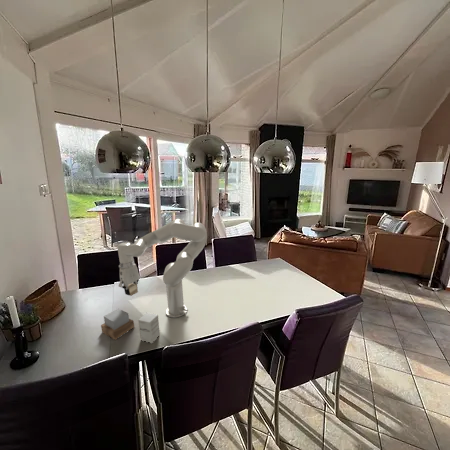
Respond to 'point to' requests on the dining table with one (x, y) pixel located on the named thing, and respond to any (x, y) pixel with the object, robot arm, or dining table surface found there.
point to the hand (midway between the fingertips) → (131, 292)
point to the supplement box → (149, 327)
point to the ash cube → (132, 289)
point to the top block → (116, 319)
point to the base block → (118, 331)
